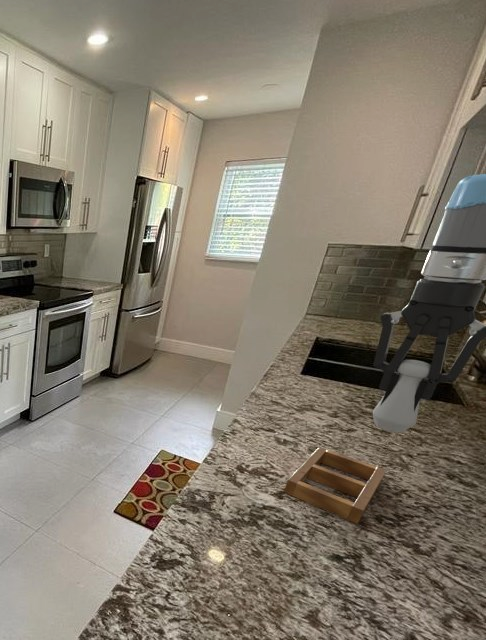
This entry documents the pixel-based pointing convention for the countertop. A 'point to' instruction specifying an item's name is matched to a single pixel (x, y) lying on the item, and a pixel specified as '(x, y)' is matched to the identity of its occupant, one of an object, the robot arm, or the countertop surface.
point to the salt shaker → (402, 398)
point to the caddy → (336, 483)
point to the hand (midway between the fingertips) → (396, 410)
